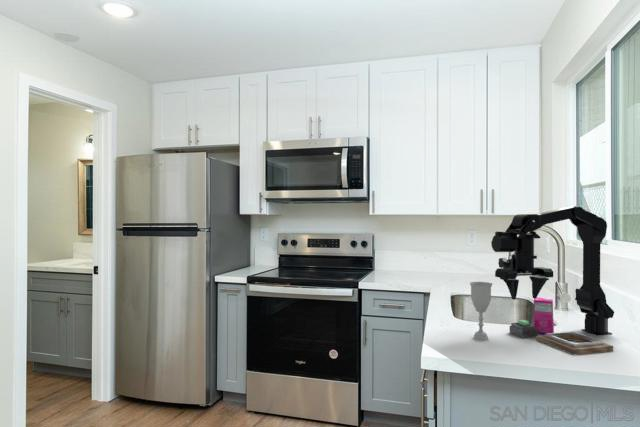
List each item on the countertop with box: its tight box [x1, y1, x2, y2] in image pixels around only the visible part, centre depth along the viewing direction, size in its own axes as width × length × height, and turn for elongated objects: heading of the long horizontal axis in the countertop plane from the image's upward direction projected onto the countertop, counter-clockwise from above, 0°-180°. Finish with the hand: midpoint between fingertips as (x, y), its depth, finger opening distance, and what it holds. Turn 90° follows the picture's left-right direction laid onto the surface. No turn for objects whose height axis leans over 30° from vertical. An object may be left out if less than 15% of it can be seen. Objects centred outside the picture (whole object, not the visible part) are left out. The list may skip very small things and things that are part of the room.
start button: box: [517, 319, 530, 326], centre depth 136 cm, size 3×3×1 cm
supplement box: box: [533, 296, 555, 335], centre depth 139 cm, size 6×6×12 cm
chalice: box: [469, 281, 493, 342], centre depth 131 cm, size 7×7×18 cm
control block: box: [509, 322, 539, 339], centre depth 136 cm, size 6×6×4 cm
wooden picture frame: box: [536, 330, 614, 355], centre depth 125 cm, size 14×14×2 cm
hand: (524, 298), depth 136 cm, fingers open, 8 cm apart
